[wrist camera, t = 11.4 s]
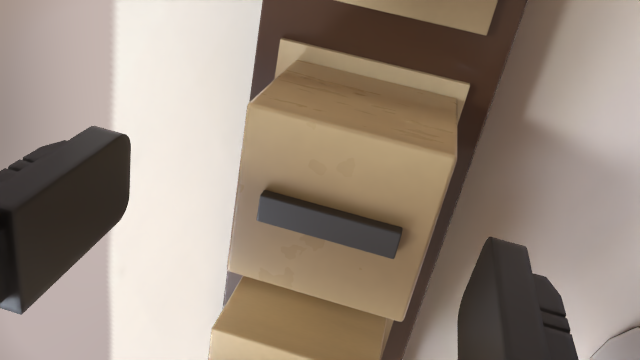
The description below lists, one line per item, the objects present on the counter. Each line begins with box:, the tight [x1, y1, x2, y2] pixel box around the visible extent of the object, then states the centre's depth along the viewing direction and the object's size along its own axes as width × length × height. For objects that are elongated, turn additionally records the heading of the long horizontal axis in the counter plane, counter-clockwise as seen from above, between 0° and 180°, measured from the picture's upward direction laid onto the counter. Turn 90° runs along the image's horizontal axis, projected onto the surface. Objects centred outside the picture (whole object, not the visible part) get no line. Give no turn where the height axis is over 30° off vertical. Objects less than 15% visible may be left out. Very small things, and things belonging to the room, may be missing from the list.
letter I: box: [227, 60, 457, 322], centre depth 14 cm, size 4×4×4 cm
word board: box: [223, 0, 528, 360], centre depth 16 cm, size 20×7×1 cm, turn 169°
